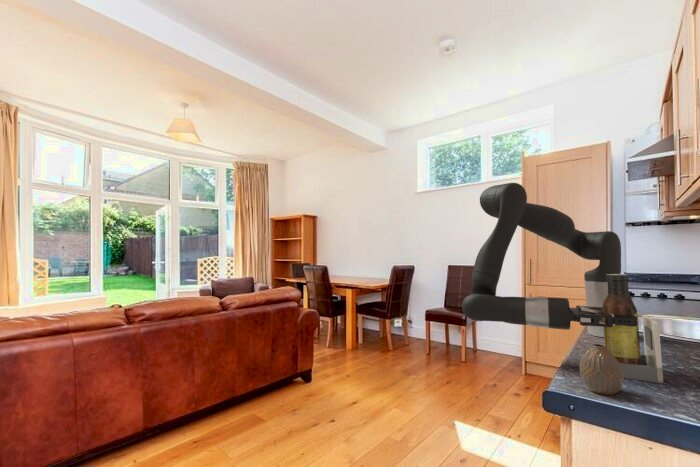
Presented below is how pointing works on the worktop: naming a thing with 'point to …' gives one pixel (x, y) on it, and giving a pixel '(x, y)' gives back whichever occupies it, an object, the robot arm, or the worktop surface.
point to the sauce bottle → (621, 337)
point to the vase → (601, 370)
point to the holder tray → (647, 356)
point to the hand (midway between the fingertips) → (633, 318)
